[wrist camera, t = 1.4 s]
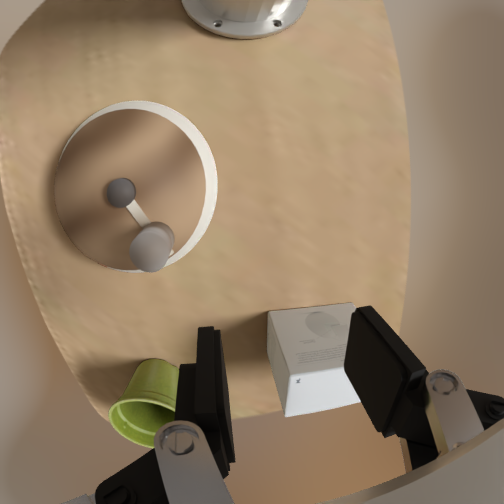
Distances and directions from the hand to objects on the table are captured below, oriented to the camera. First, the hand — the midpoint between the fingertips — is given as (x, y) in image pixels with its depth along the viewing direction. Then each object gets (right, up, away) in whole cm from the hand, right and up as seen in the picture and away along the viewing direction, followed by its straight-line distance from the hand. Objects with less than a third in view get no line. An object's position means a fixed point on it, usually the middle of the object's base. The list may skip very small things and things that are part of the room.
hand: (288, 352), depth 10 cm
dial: (-12, +9, +13) cm, 20 cm away
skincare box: (+6, -5, +24) cm, 25 cm away
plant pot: (-13, -12, +24) cm, 30 cm away
